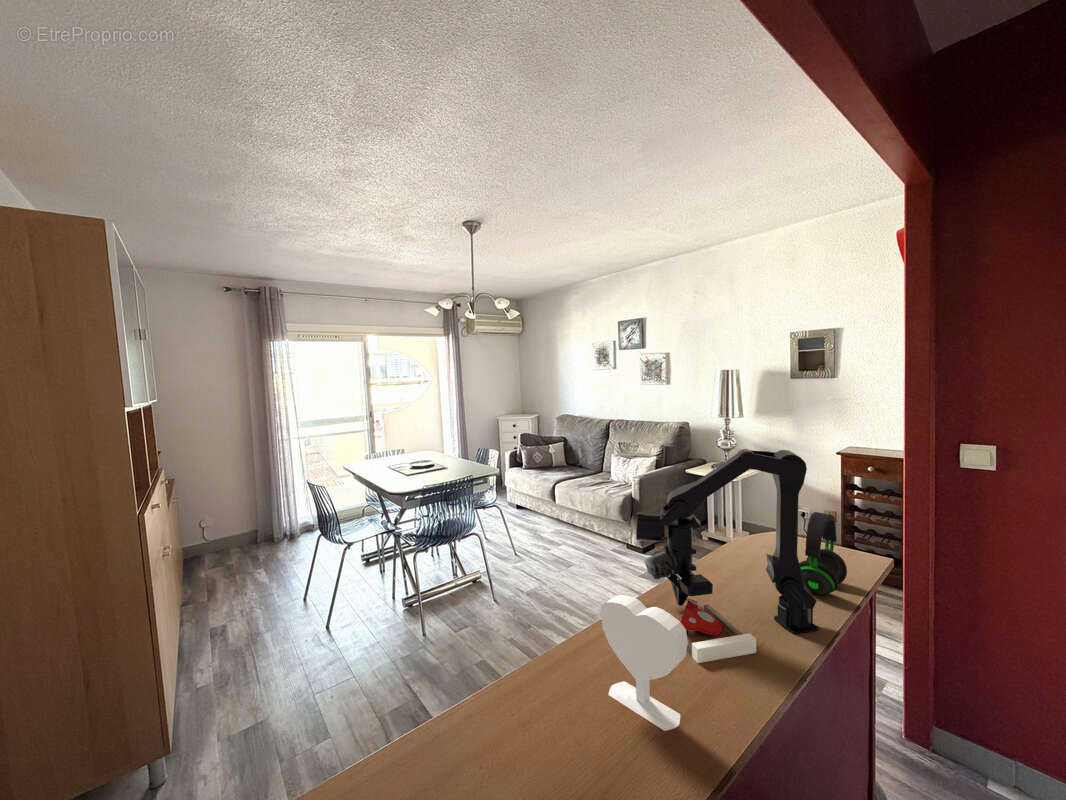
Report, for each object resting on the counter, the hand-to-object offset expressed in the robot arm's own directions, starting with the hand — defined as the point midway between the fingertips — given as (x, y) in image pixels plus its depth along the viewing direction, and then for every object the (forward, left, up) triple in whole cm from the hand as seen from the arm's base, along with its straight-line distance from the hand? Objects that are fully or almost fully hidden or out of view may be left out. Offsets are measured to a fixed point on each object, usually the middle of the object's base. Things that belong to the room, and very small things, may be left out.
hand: (680, 605), depth 108 cm
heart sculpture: (+22, +26, -2) cm, 34 cm away
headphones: (-41, -1, -2) cm, 41 cm away
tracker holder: (-2, +6, -2) cm, 6 cm away
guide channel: (0, +9, -2) cm, 9 cm away
